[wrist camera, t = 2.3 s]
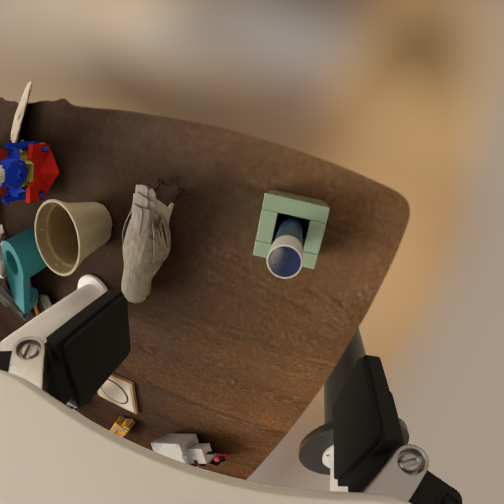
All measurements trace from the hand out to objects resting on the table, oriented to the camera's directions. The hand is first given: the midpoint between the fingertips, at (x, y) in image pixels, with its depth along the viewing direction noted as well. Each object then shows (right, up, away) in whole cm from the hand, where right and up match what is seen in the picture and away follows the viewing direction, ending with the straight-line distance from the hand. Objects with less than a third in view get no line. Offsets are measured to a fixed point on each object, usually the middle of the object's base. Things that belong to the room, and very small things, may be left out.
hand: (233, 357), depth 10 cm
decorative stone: (-40, +28, +21) cm, 53 cm away
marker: (+5, +7, +20) cm, 22 cm away
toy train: (-35, +18, +24) cm, 46 cm away
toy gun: (-59, 0, +27) cm, 65 cm away
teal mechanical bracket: (-37, -2, +27) cm, 46 cm away
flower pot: (-21, +8, +25) cm, 33 cm away
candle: (-24, -3, +29) cm, 38 cm away
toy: (-19, -35, +31) cm, 51 cm away
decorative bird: (-11, +6, +24) cm, 27 cm away
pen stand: (+5, +7, +20) cm, 22 cm away
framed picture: (-27, -24, +36) cm, 50 cm away
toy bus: (-27, -38, +38) cm, 60 cm away
